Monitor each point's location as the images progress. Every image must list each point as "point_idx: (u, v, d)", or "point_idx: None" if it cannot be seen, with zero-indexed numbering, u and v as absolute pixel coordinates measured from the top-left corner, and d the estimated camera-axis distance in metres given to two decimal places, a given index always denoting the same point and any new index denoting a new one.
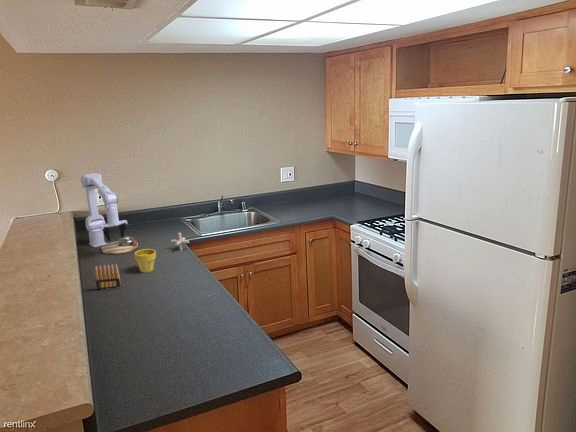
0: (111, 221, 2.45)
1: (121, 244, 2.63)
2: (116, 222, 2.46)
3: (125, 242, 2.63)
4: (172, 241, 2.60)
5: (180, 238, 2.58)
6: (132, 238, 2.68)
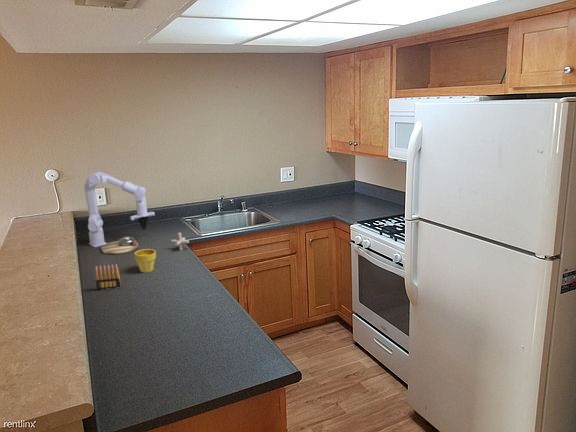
0: (140, 212, 2.67)
1: (121, 244, 2.63)
2: (145, 213, 2.69)
3: (125, 242, 2.63)
4: (172, 241, 2.60)
5: (180, 238, 2.58)
6: (132, 238, 2.68)
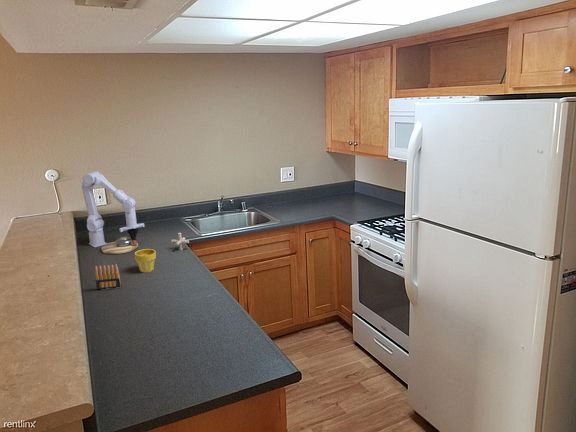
0: (129, 224, 2.64)
1: (118, 245, 2.62)
2: (134, 225, 2.66)
3: (122, 243, 2.62)
4: (172, 241, 2.60)
5: (180, 238, 2.58)
6: (129, 239, 2.67)
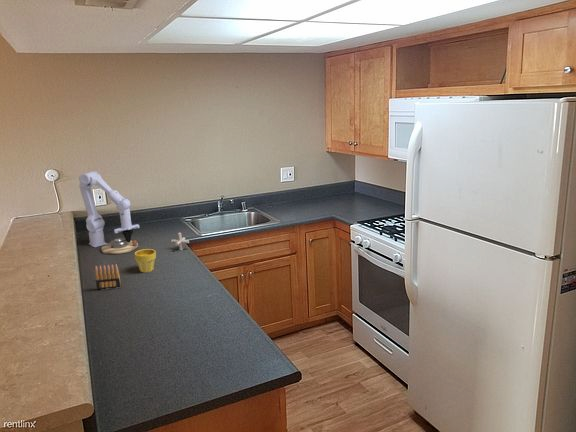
0: (124, 225, 2.62)
1: (113, 246, 2.60)
2: (129, 226, 2.64)
3: (117, 244, 2.60)
4: (172, 241, 2.60)
5: (180, 238, 2.58)
6: (124, 240, 2.64)
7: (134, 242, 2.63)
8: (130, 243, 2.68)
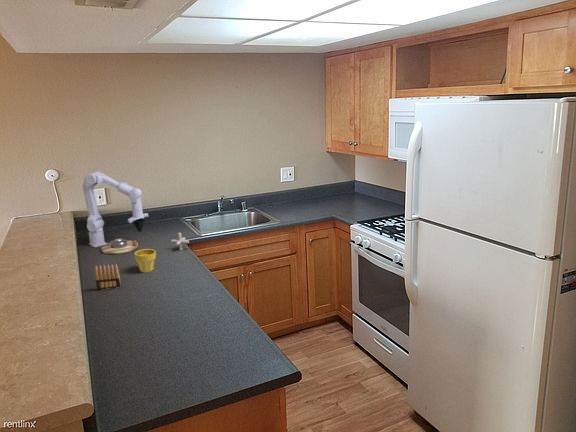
0: (137, 214, 2.63)
1: (113, 246, 2.60)
2: (142, 215, 2.65)
3: (117, 244, 2.60)
4: (172, 241, 2.60)
5: (180, 238, 2.58)
6: (124, 240, 2.64)
7: (134, 242, 2.63)
8: (130, 243, 2.68)
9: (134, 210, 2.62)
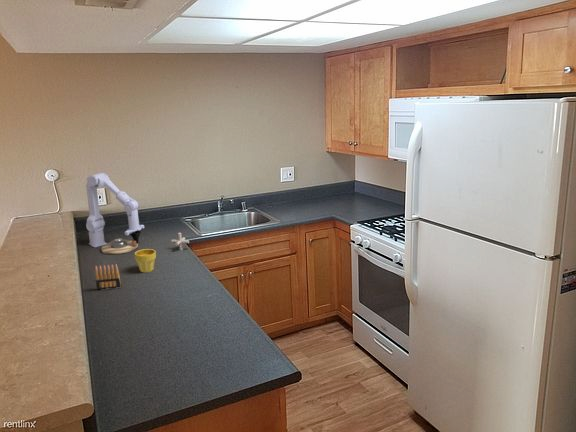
0: (134, 226, 2.60)
1: (113, 246, 2.60)
2: (138, 227, 2.62)
3: (117, 244, 2.59)
4: (172, 241, 2.60)
5: (180, 238, 2.58)
6: (124, 240, 2.64)
7: (133, 242, 2.62)
8: (130, 243, 2.68)
9: (131, 222, 2.59)
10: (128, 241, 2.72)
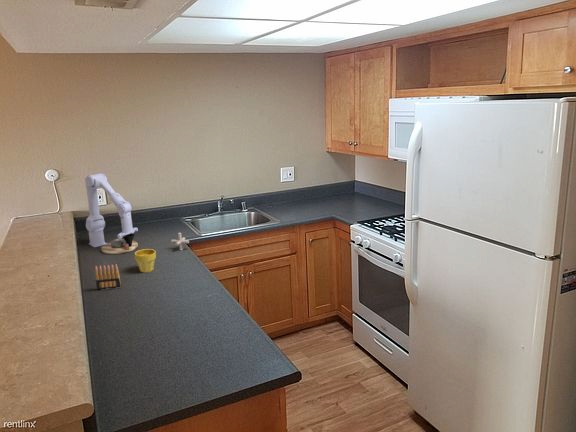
0: (127, 229, 2.55)
1: None
2: (132, 230, 2.57)
3: (112, 244, 2.60)
4: (172, 241, 2.60)
5: (180, 238, 2.58)
6: (122, 241, 2.62)
7: (125, 246, 2.57)
8: None
9: (124, 225, 2.54)
10: (133, 243, 2.68)
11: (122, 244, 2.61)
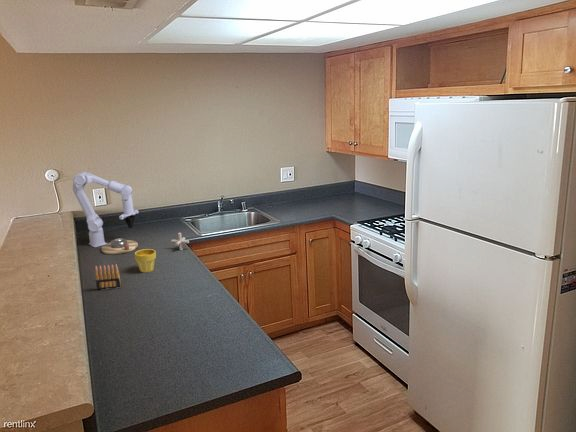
0: (129, 211, 2.67)
1: None
2: (133, 212, 2.69)
3: (112, 244, 2.60)
4: (172, 241, 2.60)
5: (180, 238, 2.58)
6: (122, 241, 2.62)
7: (125, 246, 2.57)
8: (129, 245, 2.64)
9: (125, 207, 2.66)
10: (133, 243, 2.68)
11: (122, 244, 2.61)
